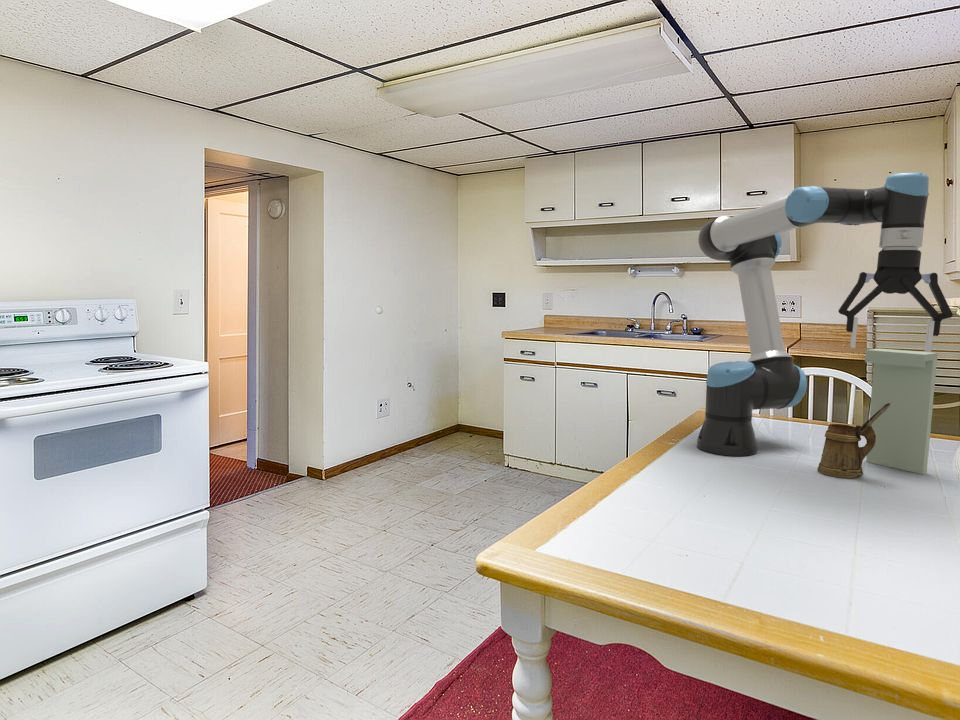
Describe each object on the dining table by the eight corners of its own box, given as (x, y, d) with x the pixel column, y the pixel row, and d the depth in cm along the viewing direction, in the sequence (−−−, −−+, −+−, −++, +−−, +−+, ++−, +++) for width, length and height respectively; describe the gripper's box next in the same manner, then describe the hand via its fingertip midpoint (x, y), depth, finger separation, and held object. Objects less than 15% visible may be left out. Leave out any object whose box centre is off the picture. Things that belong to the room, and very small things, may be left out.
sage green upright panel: (857, 464, 152) (865, 349, 149) (869, 460, 156) (878, 348, 153) (914, 477, 142) (925, 354, 139) (926, 472, 146) (937, 353, 142)
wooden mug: (879, 485, 136) (886, 405, 134) (812, 472, 145) (817, 397, 143) (888, 477, 142) (894, 400, 140) (823, 465, 152) (829, 393, 149)
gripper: (833, 249, 132) (824, 347, 135) (978, 248, 121) (965, 355, 124) (831, 250, 139) (822, 343, 142) (969, 249, 128) (956, 351, 131)
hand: (889, 349), depth 133 cm, fingers open, 13 cm apart
